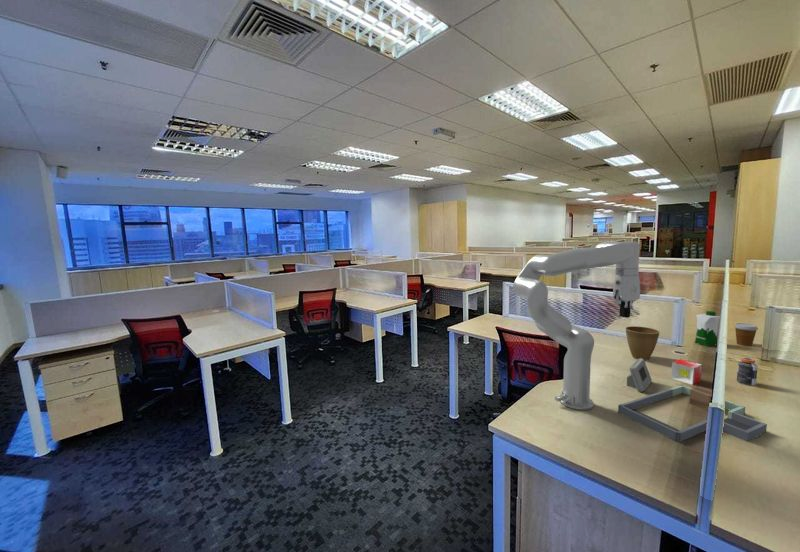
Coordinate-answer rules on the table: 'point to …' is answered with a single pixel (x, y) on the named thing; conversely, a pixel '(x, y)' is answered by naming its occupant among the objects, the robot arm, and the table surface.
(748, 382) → the pill bottle
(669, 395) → the box
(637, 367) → the digital clock
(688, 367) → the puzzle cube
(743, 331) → the disposable coffee cup
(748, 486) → the table surface
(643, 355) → the plant pot
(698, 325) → the milk carton
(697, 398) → the walnut block
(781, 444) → the table surface
